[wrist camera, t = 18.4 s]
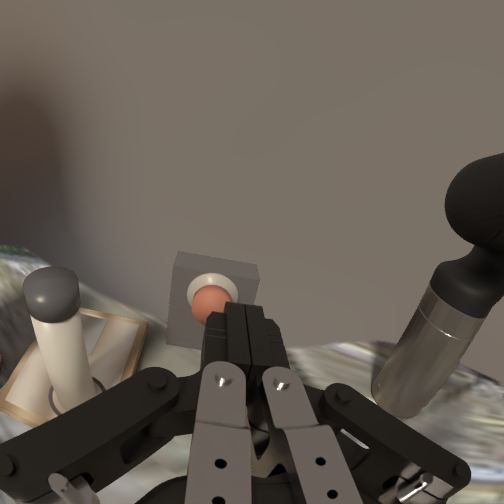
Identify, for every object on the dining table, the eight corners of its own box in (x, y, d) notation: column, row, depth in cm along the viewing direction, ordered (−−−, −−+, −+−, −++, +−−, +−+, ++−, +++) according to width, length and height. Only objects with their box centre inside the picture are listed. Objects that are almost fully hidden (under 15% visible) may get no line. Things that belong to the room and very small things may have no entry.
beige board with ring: (147, 330, 38) (148, 321, 37) (114, 455, 19) (111, 449, 19) (62, 310, 35) (60, 300, 35) (0, 410, 17) (-6, 401, 16)
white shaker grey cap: (102, 387, 25) (87, 273, 19) (91, 420, 21) (61, 306, 15) (65, 375, 24) (41, 262, 19) (51, 406, 20) (12, 290, 15)
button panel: (237, 336, 41) (256, 264, 37) (239, 355, 38) (260, 281, 33) (170, 325, 40) (178, 251, 35) (166, 345, 36) (172, 266, 31)
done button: (227, 319, 34) (234, 288, 32) (228, 328, 32) (235, 296, 30) (190, 313, 33) (195, 281, 31) (189, 322, 31) (194, 290, 30)
